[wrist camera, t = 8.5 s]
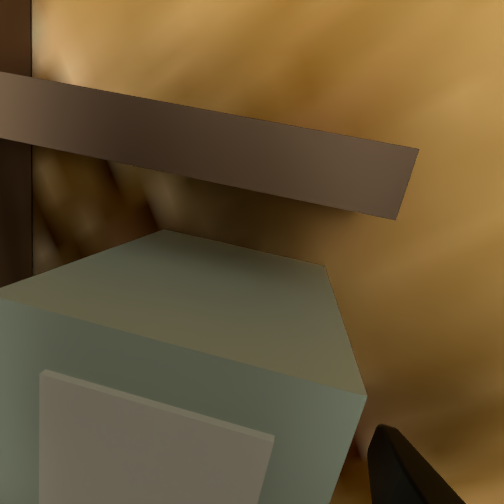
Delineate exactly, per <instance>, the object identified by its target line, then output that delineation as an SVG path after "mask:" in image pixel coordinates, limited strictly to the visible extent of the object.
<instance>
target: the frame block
mask: <svg viewBox="0 0 504 504" xmlns="http://www.w3.org/2000/svg"><path fill="white" fill-rule="evenodd" d="M367 397H368V396H367V393H366V390H365V387H364V384H363V381H362V378H361V375H360V372H359V369H358V366H357V363H356V359H355V356H354V353H353V350H352V347H351V344H350V341H349V338H348V335H347V332H346V329H345V326H344V323H343V320H342V317H341V314H340V311H339V308H338V305H337V302H336V299H335V296H334V292H333V289H332V286H331V283H330V280H329V277H328V274H327V271H326V268H325V266H323V265H319V264H314V263H310V262H306V261H301V260H297V259H293V258H288V257H284V256H279V255H275V254H271V253H266V252H262V251H258V250H253V249H249V248H244V247H240V246H236V245H231V244H227V243H222V242H218V241H214V240H209V239H205V238H201V237H196V236H192V235H187V234H183V233H179V232H174V231H170V230H166V229H163V230H161V231H158V232H155V233H152V234H149V235H147V236H144V237H141V238H138V239H136V240H133V241H130V242H127V243H124V244H122V245H119V246H116V247H113V248H110V249H108V250H105V251H102V252H99V253H96V254H94V255H91V256H88V257H85V258H83V259H80V260H77V261H74V262H71V263H69V264H66V265H63V266H60V267H57V268H55V269H52V270H49V271H46V272H44V273H41V274H38V275H35V276H32V277H30V278H27V279H24V280H21V281H18V282H16V283H13V284H10V285H7V286H4V287H2V288H0V504H329V503H330V500H331V497H332V494H333V491H334V489H335V486H336V483H337V480H338V478H339V475H340V472H341V469H342V466H343V464H344V461H345V458H346V455H347V453H348V450H349V447H350V444H351V442H352V439H353V436H354V433H355V430H356V428H357V425H358V422H359V419H360V417H361V414H362V411H363V408H364V405H365V403H366V400H367Z"/></svg>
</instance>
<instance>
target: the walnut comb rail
mask: <svg viewBox="0 0 504 504" xmlns="http://www.w3.org/2000/svg"><path fill="white" fill-rule="evenodd" d="M31 144H32V145H37V146H42V147H47V148H52V149H56V150H61V151H66V152H71V153H75V154H80V155H85V156H90V157H95V158H99V159H104V160H109V161H114V162H119V163H123V164H128V165H133V166H138V167H142V168H147V169H152V170H157V171H162V172H166V173H171V174H176V175H181V176H186V177H190V178H195V179H200V180H205V181H209V182H214V183H219V184H224V185H229V186H233V187H238V188H243V189H248V190H253V191H257V192H262V193H267V194H272V195H276V196H281V197H286V198H291V199H296V200H300V201H305V202H310V203H315V204H319V205H324V206H329V207H334V208H339V209H343V210H348V211H353V212H358V213H363V214H367V215H372V216H377V217H382V218H386V219H391V220H396V218H397V215H398V212H399V209H400V206H401V203H402V200H403V197H404V194H405V191H406V188H407V185H408V182H409V179H410V176H411V173H412V170H413V167H414V164H415V161H416V158H417V155H418V152H419V149H416V148H411V147H406V146H400V145H395V144H389V143H384V142H379V141H373V140H368V139H362V138H357V137H352V136H346V135H341V134H335V133H330V132H325V131H319V130H314V129H308V128H303V127H297V126H292V125H287V124H281V123H276V122H270V121H265V120H260V119H254V118H249V117H243V116H238V115H233V114H227V113H222V112H216V111H211V110H206V109H200V108H195V107H189V106H184V105H179V104H173V103H168V102H162V101H157V100H152V99H146V98H141V97H135V96H130V95H124V94H119V93H114V92H108V91H103V90H97V89H92V88H87V87H81V86H76V85H70V84H65V83H60V82H54V81H49V80H43V79H38V78H33V77H31V27H30V0H0V288H2V287H4V286H7V285H10V284H13V283H16V282H18V281H21V280H24V279H27V278H30V277H32V227H31Z"/></svg>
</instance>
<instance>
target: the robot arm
mask: <svg viewBox="0 0 504 504" xmlns="http://www.w3.org/2000/svg"><path fill="white" fill-rule="evenodd" d="M367 459H368V469H369V478H370V487H371V497H372V504H466V503H465V502H464V501H463V500H462V499H461V498H460V497H459V496H458V495H457V494H456V492H455V491H454V490H453V489H452V488H451V487H450V486H449V485H448V484H447V483H446V482H445V480H444V479H443V478H442V477H441V476H440V475H439V474H438V473H437V472H436V471H435V470H434V468H433V467H432V466H431V465H430V464H429V463H428V462H427V461H426V460H425V459H424V458H423V456H422V455H421V454H420V453H419V452H418V451H417V450H416V449H415V448H414V447H413V446H412V444H411V443H410V442H409V441H408V440H407V439H406V438H405V437H404V436H403V435H402V434H401V432H400V431H399V430H398V429H396V428H394V427H391V426H387V425H384V424H379V425H378V426H377V428H376V430H375V432H374V435H373V438H372V440H371V443H370V445H369V448H368V454H367Z"/></svg>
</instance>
